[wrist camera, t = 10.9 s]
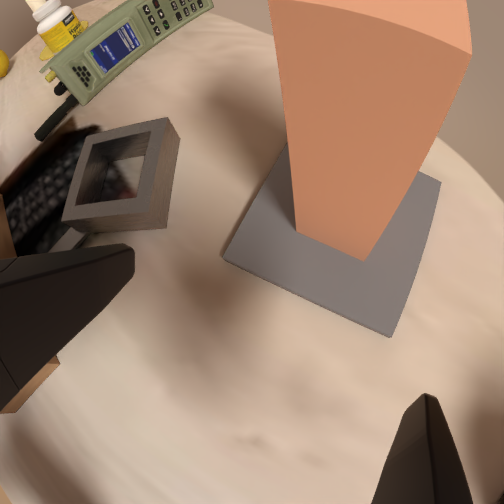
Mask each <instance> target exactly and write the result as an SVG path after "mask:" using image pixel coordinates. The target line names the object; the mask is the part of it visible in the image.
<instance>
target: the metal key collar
mask: <svg viewBox="0 0 504 504" xmlns="http://www.w3.org/2000/svg"><path fill="white" fill-rule="evenodd" d="M179 143H180V137H179V136H178V134H177V132H176V131H175V129H174V127H173V125H172V124H171V122H170V120H169V119H168V117H166V118H161V119H156V120H151V121H146V122H142V123H137V124H133V125H128V126H124V127H120V128H116V129H112V130H108V131H104V132H101V133H97V134H93V135H90V136H87V137H86V139H85V142H84V145H83V148H82V151H81V154H80V157H79V160H78V163H77V166H76V169H75V172H74V175H73V179H72V182H71V185H70V189H69V193H68V196H67V200H66V204H65V208H64V212H63V216H62V220H61V221H62V222H63V223H65V224H66V225H68V226H70V227H71V228H70V229H69V230H68V231H67V232H66V233H65V234H64V235H63V236H62V237H61V239H60V240H59V241H58V242H57V243H56V244H55V245H54V246H53V248H52V249H51V250H50V251H49V252H48V253H50V252H58V251H65V250H73V249H77V248H78V246H79V245H80V244H81V243H82V242H83V241H84V240H85V239H86V238H87V237H88V236H89V235H90V234H91V233H104V232H118V231H132V230H147V229H163V228H166V227H167V219H168V212H169V204H170V198H171V191H172V184H173V178H174V172H175V166H176V160H177V154H178V149H179ZM142 155H145V159H144V164H143V168H142V173H141V177H140V182H139V187H138V192H137V197H136V198H128V199H121V200H113V201H105V202H99V200H100V196H101V192H102V188H103V184H104V180H105V176H106V172H107V169H108V165H109V162H110V161H115V160H120V159H126V158H131V157H136V156H142Z"/></svg>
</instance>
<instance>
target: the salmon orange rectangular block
mask: <svg viewBox="0 0 504 504" xmlns="http://www.w3.org/2000/svg"><path fill="white" fill-rule="evenodd" d="M268 4H269V10H270V16H271V22H272V28H273V35H274V41H275V48H276V54H277V61H278V68H279V75H280V82H281V90H282V98H283V105H284V113H285V122H286V130H287V139H288V148H289V157H290V167H291V177H292V187H293V198H294V209H295V221H296V232H298V233H300V234H303V235H305V236H307V237H310V238H312V239H314V240H317V241H319V242H321V243H323V244H326V245H328V246H330V247H332V248H335V249H337V250H339V251H341V252H344V253H346V254H348V255H350V256H352V257H355V258H357V259H359V260H361V261H363V262H364V261H365V259H366V258H367V256H368V255H369V253H370V252H371V250H372V249H373V247H374V245H375V244H376V242H377V241H378V239H379V238H380V236H381V234H382V233H383V231H384V229H385V228H386V226H387V225H388V223H389V221H390V220H391V218H392V216H393V215H394V213H395V211H396V210H397V208H398V206H399V204H400V203H401V201H402V199H403V198H404V196H405V194H406V192H407V190H408V189H409V187H410V185H411V183H412V182H413V180H414V178H415V176H416V174H417V172H418V171H419V169H420V167H421V165H422V163H423V161H424V159H425V157H426V156H427V154H428V152H429V150H430V148H431V146H432V144H433V142H434V140H435V138H436V136H437V134H438V132H439V130H440V128H441V126H442V123H443V121H444V119H445V117H446V115H447V113H448V111H449V108H450V106H451V104H452V102H453V100H454V98H455V95H456V93H457V91H458V88H459V86H460V84H461V81H462V79H463V77H464V74H465V72H466V69H467V67H468V64H469V61H470V59H471V57H472V47H471V35H470V25H469V18H468V10H467V4H466V0H268Z"/></svg>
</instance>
